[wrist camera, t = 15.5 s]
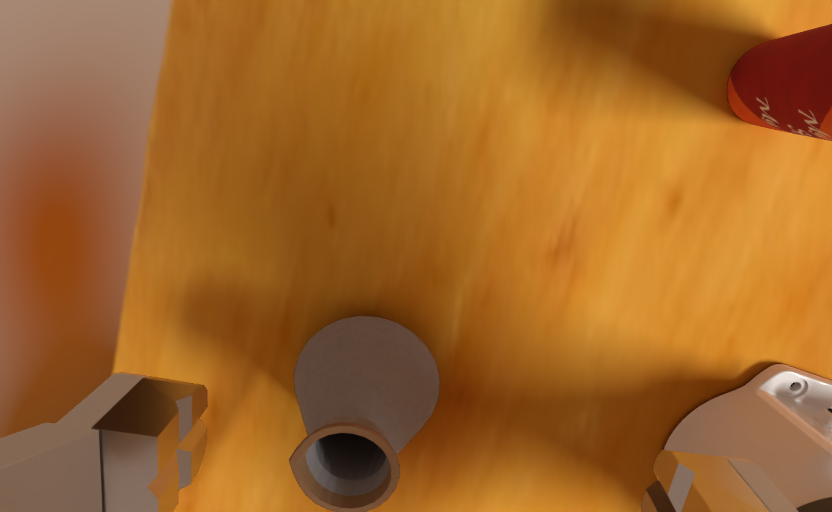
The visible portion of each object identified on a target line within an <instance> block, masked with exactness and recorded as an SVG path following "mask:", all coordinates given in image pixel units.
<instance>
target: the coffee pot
mask: <svg viewBox="0 0 832 512" xmlns="http://www.w3.org/2000/svg"><path fill="white" fill-rule="evenodd" d="M439 388H440V377H439V373H438V369H437V365H436V361H435V360H434V358H433V356H432V354H431V352H430V351H429V349H428V347H427V345H426V344H425V343H424V342H423V341H422V340H421V339H420V338H419V337H418V336H417V335H416V334H415V333H414V332H412V331H411V330H409V329H407V328H405V327H404V326H402V325H400V324H399V323H397V322H395V321H391V320H388V319H385V318H381V317H375V316H355V317H350V318H345V319H340V320H337V321H335V322H333V323H331V324H329V325H327V326H325V327H323V328H322V329H321V330H319V331H318V332H317V333H316V334H315V335H314V336H313V337H311V338H310V339H309V340H308V341H307V343H306V345H305V346H304V348H303V349H302V351H301V352H300V354H299V356H298V360H297V363H296V367H295V371H294V389H295V394H296V397H297V400H298V404H299V407H300V410H301V414H302V417H303V421H304V424H305V427H306V431H307V434H308V436H307V437H306V438H305V439H304V440H303V441H302V442H301V443H300V445H299V446H298V447H297V448H296V449H295V451H294V452H293V454H292V456H291V457H290V459H289V462H290V465H291V468H292V471H293V474H294V476H295V478H296V480H297V482H298V484H299V486H300V487H301V489H302V490H303V492H304V493H305V495H306V496H308V497H309V498H310V499H311V500H312V501H313V502H315V503H316V504H318V505H320V506H322V507H323V508H325V509H327V510H331V511H335V512H366V511H369V510H371V509H374V508H376V507H378V506H379V505H381V504H382V503H383V502H385V501H386V500H387V499H388V498H389V497H390V495H391V494H392V493H393V492H394V490H395V489H396V486H397V483H398V481H399V478H400V464H399V461H398V457H397V455H398V453H399V452H400V451H401V450H402V449H403V448H404V447H405V446H406V445H407V444H408V443H409V441H410V440H411V439H412V438H413V437H414V436H415V435H416V434H417V433H418V432H419V431H420V429H421V428H422V427H423V426H424V425H425V423H426V422H427V421H428V419H429V418H430V417H431V415H432V414H433V411H434V409H435V406H436V403H437V400H438V398H439Z"/></svg>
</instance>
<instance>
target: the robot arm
mask: <svg viewBox="0 0 832 512" xmlns="http://www.w3.org/2000/svg"><path fill="white" fill-rule="evenodd" d="M794 382H795V384H794V385H793V386H791V384H792V383H794ZM790 386H791V387H790ZM207 407H208V400H207V389H206V387H205V386H204V385H201V384H195V383H189V382H183V381H176V380H170V379H164V378H158V377H151V376H149V377H148V376H146V375H139V374H131V373H123V372H121V373H114V374H113V375H112V376H111V377H109V378H108V379H107V380H106V381H105V382H104V383H103V384H101V385H100V386H99V387H98V388H97V389H96V390H95V391H93V392H92V393H91V394H90V395H89V396H88V397H86V398H85V399H84V400H83V401H82V402H80V403H79V404H78V405H77V406H76V407H75V408H74V409H72V410H71V411H70V412H69V413H68V414H67V415H65V416H64V417H63V418H62V419H61V420H60V421H58V422H57V423H56V424H51V423H44V424H41V425H38V426H35V427H32V428H29V429H26V430H24V431H20V432H18V433H15V434H12V435H9V436H6V437H3V438H0V512H173V511H174V509H175V508H176V506H177V505H178V498H179V490H180V489H182V488H184V487H186V486H187V485H189V484H191V482H192V481H193V479H194V477H195V476H196V474H197V472H198V470H199V467H200V465H201V462H202V459H203V456H204V453H205V447H206V441H207V428H206V426H205V425H204V424H203V422H202V421H201V419H200V417H201V415H202V414H203V413H204V411H205V410H206V408H207ZM653 471H654V473H655V475H656V477H657V481H656V482H654V483H653V484H652V485H651V486H649V487H648V488H647V489H646V490H645V494H644V497H643V501H642V505H641V512H832V381H831V380H829V379H826V378H823V377H820V376H817V375H814V374H811V373H808V372H805V371H802V370H799V369H796V368H794V367H791V366H788V365H784V364H776V365H772V366H770V367H768V368H767V369H765V370H763V371H762V372H761V373H759V374H758V375H757V376H756V377H754V378H753V379H752V380H751V381H750V382H748V383H747V384H746V385H744V386H743V387H741V388H738V389H736V390H734V391H731V392H728V393H726V394H723V395H720V396H718V397H716V398H713V399H711V400H709V401H708V402H706V403H704V404H702V405H701V406H699V407H698V408H696V409H695V410H694V411H692V412H691V413H690V414H689V415H688V416H686V417H685V418H684V419H683V420H682V421H681V422H680V423H679V425H678V426H677V427H676V428H675V430H674V431H673V432H672V434H671V435H670V437H669V439H668V441H667V443H666V445H665V447H664V450H662V451H661V452H660V453H659V454H658V456H657V457H656V460H655V463H654V466H653Z"/></svg>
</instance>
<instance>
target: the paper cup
mask: <svg viewBox="0 0 832 512" xmlns="http://www.w3.org/2000/svg"><path fill="white" fill-rule="evenodd" d="M727 98H728V102H729V105H730V107H731V109H732V110H733V112H734V113H735V114H736V115H737V116H738V117H739V118H740V119H742V120H743V121H745V122H748V123H750V124H753V125H757V126H761V127H765V128H770V129H774V130H779V131H784V132H789V133H794V134H799V135H804V136H809V137H814V138H819V139H824V140H829V141H832V24H830V25H826V26H823V27H819V28H815V29H811V30H807V31H804V32H800V33H796V34H793V35H789V36H785V37H782V38H778V39H775V40H771V41H768V42H765V43H763V44H760V45H758V46H756V47H754V48H752V49H751V50H749V51H748V52H747V53H745V54H744V55H743V56H742V57H741V58H740V59H739V60H738V62H737V63H736V64H735V66H734V68H733V69H732V71H731V74H730V76H729V80H728V84H727Z"/></svg>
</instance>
